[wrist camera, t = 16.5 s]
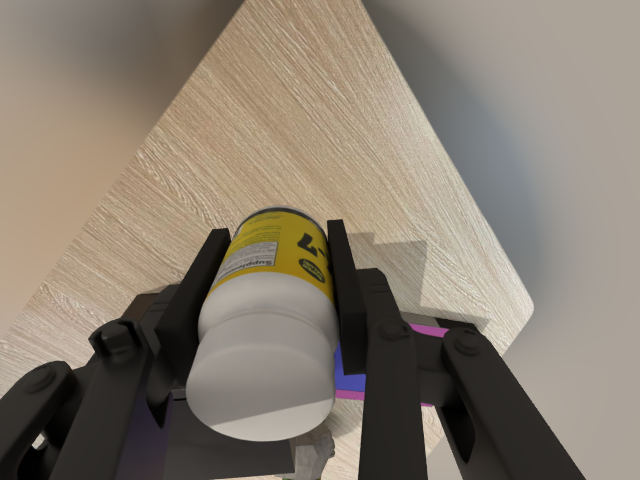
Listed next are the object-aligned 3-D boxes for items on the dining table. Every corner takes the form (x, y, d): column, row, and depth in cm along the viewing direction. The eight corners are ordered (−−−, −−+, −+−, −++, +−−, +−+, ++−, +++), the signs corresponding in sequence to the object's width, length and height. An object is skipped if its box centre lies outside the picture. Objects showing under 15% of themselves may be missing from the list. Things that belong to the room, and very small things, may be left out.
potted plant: (345, 424, 63) (342, 482, 67) (299, 396, 71) (299, 449, 75) (307, 467, 54) (306, 531, 58) (259, 429, 62) (260, 488, 65)
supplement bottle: (340, 267, 16) (371, 428, 9) (260, 295, 17) (226, 466, 10) (307, 187, 14) (312, 311, 7) (216, 221, 15) (127, 370, 7)
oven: (141, 303, 50) (66, 409, 34) (287, 292, 50) (280, 393, 35) (172, 375, 59) (124, 486, 43) (297, 366, 59) (295, 473, 43)
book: (431, 406, 63) (288, 393, 58) (426, 393, 66) (289, 379, 60) (480, 333, 54) (315, 309, 48) (472, 321, 56) (314, 297, 51)
